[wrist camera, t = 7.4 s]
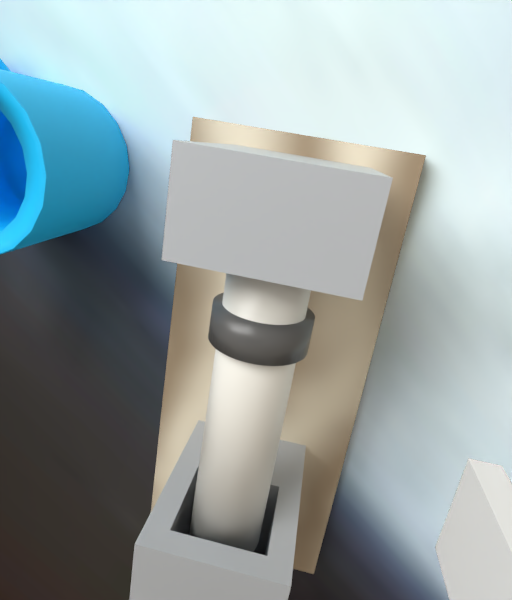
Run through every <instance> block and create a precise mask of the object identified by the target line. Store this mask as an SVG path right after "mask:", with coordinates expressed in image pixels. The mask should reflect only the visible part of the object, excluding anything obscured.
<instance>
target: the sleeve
mask: <svg viewBox="0 0 512 600" xmlns="http://www.w3.org/2000/svg"><path fill="white" fill-rule="evenodd" d="M204 426H205V422H204V421H200V420H198V422H197V424H196V426H195V428H194V430H193V432H192V434H191V436H190V438H189V440H188V442H187V444H186V446H185V448H184V450H183V451H182V453H181V455H180V457H179V459H178V461H177V463H176V465H175V467H174V469H173V471H172V473H171V475H170V477H169V479H168V481H167V482H166V484H165V486H164V488H163V490H162V492H161V494H160V496H159V498H158V500H157V502H156V504H155V506H154V508H153V510H152V512H151V514H150V515H149V517H148V519H147V521H146V523H145V525H144V527H143V529H142V531H141V533H140V535H139V537H138V539H137V541H136V543H135V547H134V557H133V568H132V578H131V589H130V600H288V597H289V593H290V589H291V582H292V573H293V563H294V554H295V544H296V535H297V525H298V516H299V506H300V497H301V487H302V478H303V468H304V459H305V449H306V446H305V445H301V444H296V443H292V442H288V441H284V440H280V442H279V447H278V451H277V456H276V461H275V466H274V471H273V475H272V480H271V485H270V490H269V495H268V499H267V504H266V509H265V514H264V518H263V523H262V528H261V533H260V538H259V542H258V545H257V547H256V548H255V550H254V551H253V552H250V551H247V550H243V549H239V548H235V547H232V546H228V545H224V544H220V543H217V542H213V541H209V540H205V539H202V538H198V537H194V536H190V524H191V517H192V510H193V503H194V496H195V489H196V482H197V475H198V468H199V461H200V454H201V447H202V440H203V433H204Z"/></svg>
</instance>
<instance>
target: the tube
mask: <svg viewBox="0 0 512 600" xmlns="http://www.w3.org/2000/svg"><path fill="white" fill-rule="evenodd" d="M310 293H311V290H307V289H302V288H297V287H292V286H287V285H282V284H277V283H272V282H267V281H262V280H257V279H252V278H247V277H242V276H237V275H233V274H228V273H226V280H225V287H224V292H223V293H221V294H218V295H217V296H215V297H214V299H213V304H212V311H211V318H210V326H209V333H208V339H209V342H210V343H211V345H212V346H213V347H214V348H215V356H214V363H213V370H212V377H211V384H210V391H209V398H208V405H207V412H206V419H205V426H204V433H203V440H202V447H201V454H200V461H199V468H198V475H197V482H196V489H195V496H194V503H193V510H192V517H191V524H190V536H194V537H198V538H202V539H205V540H209V541H213V542H217V543H220V544H224V545H228V546H232V547H235V548H239V549H243V550H247V551H250V552H253V551H254V550H255V548H256V547H257V545H258V542H259V538H260V533H261V528H262V523H263V518H264V514H265V509H266V504H267V499H268V495H269V490H270V485H271V480H272V475H273V471H274V466H275V461H276V456H277V451H278V447H279V442H280V437H281V432H282V427H283V423H284V418H285V413H286V408H287V404H288V399H289V394H290V389H291V384H292V380H293V375H294V370H295V365H296V363H297V362H299V361H301V360H303V359H304V358H305V357H306V356H307V353H308V349H309V344H310V339H311V335H312V330H313V325H314V321H315V315H314V313H313V312H312V311H311V310H310V309H309V308H308V303H309V298H310Z"/></svg>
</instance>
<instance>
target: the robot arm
mask: <svg viewBox="0 0 512 600" xmlns="http://www.w3.org/2000/svg"><path fill="white" fill-rule="evenodd" d="M435 548H436V552H437V556H438V560H439V563H440V567H441V571H442V574H443V578H444V582H445V585H446V589H447V593H448V596H449V600H512V483H511V481H510V479H509V478H508V476H507V474H506V472H505V470H504V469H503V467H502V466H501V465H496V464H492V463H487V462H483V461H478V460H474V459H469V458H468V461H467V464H466V466H465V469H464V472H463V474H462V477H461V480H460V482H459V485H458V488H457V490H456V493H455V496H454V498H453V501H452V504H451V506H450V509H449V512H448V514H447V517H446V520H445V522H444V525H443V528H442V530H441V533H440V536H439V538H438V541H437V544H436V546H435Z"/></svg>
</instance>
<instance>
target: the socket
mask: <svg viewBox="0 0 512 600" xmlns="http://www.w3.org/2000/svg"><path fill="white" fill-rule="evenodd" d="M392 179H393V178H392V177H390V176H387V175H385V174H383V173H381V172H379V171H377V170H375V169H372V168H370V167H364V166H358V165H352V164H346V163H341V162H335V161H329V160H323V159H317V158H311V157H305V156H300V155H294V154H288V153H282V152H276V151H270V150H264V149H259V148H253V147H247V146H241V145H233V144H220V143H206V142H193V141H179V140H173V144H172V154H171V165H170V176H169V186H168V197H167V207H166V218H165V229H164V239H163V250H162V260H163V261H168V262H173V263H178V264H183V265H188V266H193V267H198V268H203V269H208V270H213V271H218V272H223V273H228V274H233V275H237V276H242V277H247V278H252V279H257V280H262V281H267V282H272V283H277V284H282V285H287V286H292V287H297V288H302V289H307V290H312V291H317V292H322V293H327V294H332V295H337V296H342V297H347V298H351V299H356V300H361V301H362V300H363V296H364V292H365V288H366V284H367V280H368V276H369V272H370V268H371V264H372V260H373V256H374V252H375V248H376V244H377V240H378V236H379V232H380V228H381V224H382V220H383V216H384V212H385V208H386V204H387V200H388V196H389V191H390V187H391V183H392Z"/></svg>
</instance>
